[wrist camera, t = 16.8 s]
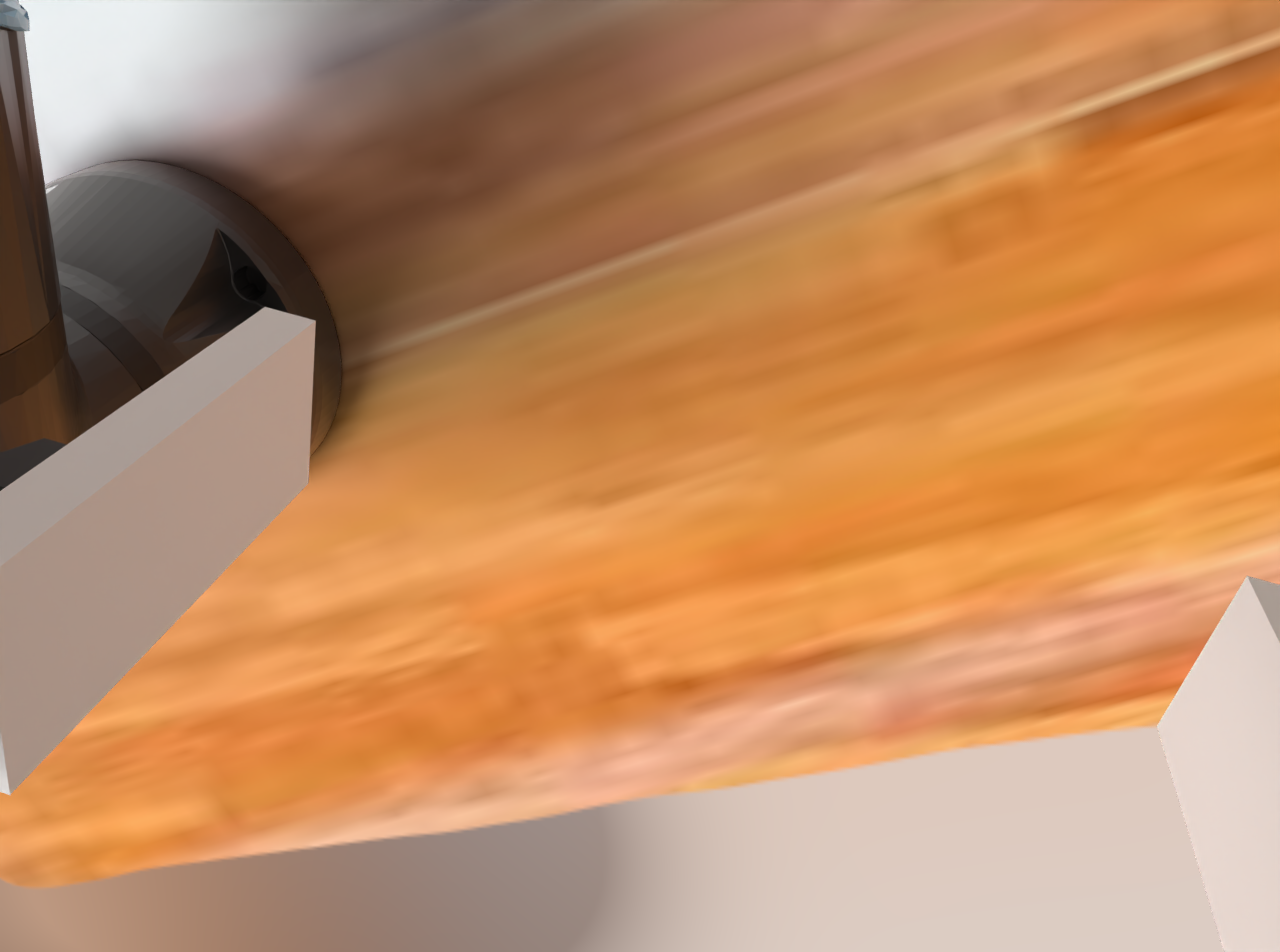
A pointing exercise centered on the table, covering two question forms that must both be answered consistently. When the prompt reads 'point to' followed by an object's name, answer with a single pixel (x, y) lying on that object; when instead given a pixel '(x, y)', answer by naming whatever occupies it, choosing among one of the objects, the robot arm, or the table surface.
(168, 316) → the robot arm
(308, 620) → the table surface
